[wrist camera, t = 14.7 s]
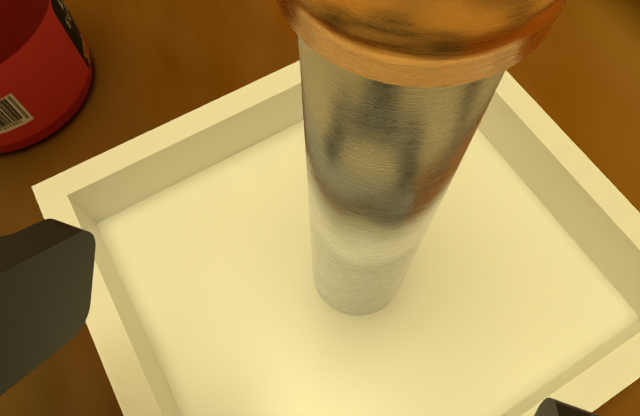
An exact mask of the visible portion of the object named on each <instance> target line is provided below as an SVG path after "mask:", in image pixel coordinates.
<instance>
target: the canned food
mask: <svg viewBox="0 0 640 416" xmlns="http://www.w3.org/2000/svg"><path fill="white" fill-rule="evenodd" d="M91 79H92V67H91V60H90V54H89V48H88V45H87V43H86V41H85V39H84V37H83V35H82V33H81V32H80V30H79V28H78V27H77V25H76V23H75V21H74V20H73V18H72V16H71V15H70V13H69V11H68V9H67V8H66V6H65V4H64V3H63V1H62V0H0V153H6V152H12V151H15V150H19V149H22V148H26V147H28V146H30V145H33V144H35V143H37V142H39V141H42V140H43V139H45V138H47V137H48V136H50V135H51V134H53V133H55V132H56V131H57V130H59V129H60V128H61V127H62V126H63V125H64V124H66V123H67V122H68V121H69V120H70V119H71V118H72V117H73V115H74V114H75V113H76V112H77V111H78V110H79V108H80V107H81V105H82V103H83V102H84V100H85V98H86V97H87V94H88V91H89V88H90V85H91Z"/></svg>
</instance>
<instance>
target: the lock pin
mask: <svg viewBox="0 0 640 416" xmlns="http://www.w3.org/2000/svg"><path fill="white" fill-rule="evenodd" d="M566 1H567V0H277V2H278V5H279V7H280V9H281V12H282V14H283V16H284V17H285V19H286V20H287V22H288V23H289V25H290V27H291V28H292V29H293V30H294V32H295V33H296V34H297V35H298V41H299V57H300V73H301V89H302V104H303V120H304V136H305V152H306V167H307V183H308V199H309V215H310V231H311V246H312V262H313V277H314V282H315V286H316V288H317V290H318V292H319V294H320V296H321V297H322V298H323V300H324V301H325V302H326V303H327V304H329V305H330V306H331V307H332V308H334V309H336V310H337V311H340V312H342V313H345V314H349V315H356V316H361V315H368V314H372V313H375V312H377V311H379V310H381V309H383V308H384V307H385V306H387V305H388V304H389V303H390V302H391V301H392V300H393V298H394V297H395V295H396V294H397V292H398V290H399V288H400V286H401V284H402V281H403V279H404V277H405V275H406V273H407V271H408V269H409V267H410V265H411V263H412V261H413V259H414V257H415V255H416V253H417V251H418V249H419V247H420V245H421V243H422V240H423V238H424V236H425V234H426V232H427V230H428V228H429V226H430V224H431V222H432V220H433V218H434V216H435V214H436V212H437V210H438V208H439V206H440V204H441V202H442V199H443V197H444V195H445V193H446V191H447V189H448V187H449V185H450V183H451V181H452V179H453V177H454V175H455V173H456V171H457V169H458V167H459V165H460V163H461V161H462V158H463V156H464V154H465V152H466V150H467V148H468V146H469V144H470V142H471V140H472V138H473V136H474V134H475V132H476V130H477V128H478V126H479V124H480V122H481V120H482V117H483V115H484V113H485V111H486V109H487V107H488V105H489V103H490V101H491V99H492V97H493V95H494V93H495V91H496V89H497V87H498V85H499V83H500V81H501V79H502V76H503V74H504V72H505V70H507V69H508V68H510V67H512V66H513V65H515V64H517V63H518V62H520V61H521V60H523V59H524V58H525V57H527V56H528V55H529V54H530V53H531V52H533V51H534V50H535V49H536V48H537V47H538V46H539V44H540V43H541V42H542V41H543V40H544V39H545V38H546V36H547V35H548V33H549V31H550V30H551V28H552V26H553V25H554V23H555V21H556V19H557V18H558V16H559V14H560V12H561V10H562V8H563V7H564V5H565V3H566Z"/></svg>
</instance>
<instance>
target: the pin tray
mask: <svg viewBox="0 0 640 416" xmlns="http://www.w3.org/2000/svg"><path fill="white" fill-rule="evenodd" d="M32 189H33V192H34V194H35V197H36V199H37V202H38V204H39V207H40V209H41V212H42V214H43V217H44V219H55V220H58V221H61V222H64V223H66V224H69V225H72V226H75V227H78V228H80V229H83V230H86V231H89V232H91V233H92V234H93V236H94V238H95V242H96V248H95V260H94V271H93V282H92V293H91V304H90V310H89V313H88V316H87V318H86V324H87V326H88V328H89V331H90V333H91V336H92V338H93V341H94V343H95V346H96V348H97V351H98V353H99V356H100V358H101V361H102V363H103V366H104V368H105V371H106V373H107V376H108V378H109V381H110V383H111V386H112V388H113V391H114V393H115V396H116V398H117V401H118V403H119V405H120V408H121V410H122V413H123V415H124V416H534V415H535V413H536V411H537V409H538V407H539V405H540V404H541V403H542V401H543V400H544V399H546V398H553V399H556V400H558V401H561V402H564V403H567V404H570V405H572V406H575V407H578V408H581V409H584V410H586V411H589V412H593V411H594V410H596V409H597V408H598V407H600V406H601V405H602V404H604V403H605V402H607V401H608V400H609V399H611V398H612V397H613V396H615V395H616V394H617V393H619V392H620V391H622V390H623V389H624V388H626V387H627V386H628V385H630V384H631V383H633V382H634V381H635V380H637V379H638V378H639V377H640V213H639V212H638V211H637V210H636V209H635V207H634V206H633V205H632V204H631V203H630V202H629V201H628V200H627V199H626V198H625V197H624V196H623V195H622V194H621V193H620V191H619V190H618V189H617V188H616V187H615V186H614V185H613V184H612V183H611V182H610V181H609V180H608V179H607V178H606V177H605V175H604V174H603V173H602V172H601V171H600V170H599V169H598V168H597V167H596V166H595V165H594V164H593V163H592V162H591V161H590V159H589V158H588V157H587V156H586V155H585V154H584V153H583V152H582V151H581V150H580V149H579V148H578V147H577V146H576V145H575V143H574V142H573V141H572V140H571V139H570V138H569V137H568V136H567V135H566V134H565V133H564V132H563V131H562V130H561V129H560V127H559V126H558V125H557V124H556V123H555V122H554V121H553V120H552V119H551V118H550V117H549V116H548V115H547V114H546V113H545V111H544V110H543V109H542V108H541V107H540V106H539V105H538V104H537V103H536V102H535V101H534V100H533V99H532V98H531V97H530V95H529V94H528V93H527V92H526V91H525V90H524V89H523V88H522V87H521V86H520V85H519V84H518V83H517V82H516V81H515V79H514V78H513V77H512V76H511V75H510V74H509V73H508V72H507V71H506V70H505V72H504V74H503V76H502V79H501V81H500V83H499V85H498V87H497V89H496V91H495V93H494V95H493V97H492V99H491V101H490V103H489V105H488V107H487V109H486V111H485V113H484V115H483V117H482V120H481V122H480V124H479V126H478V128H477V130H476V132H475V134H474V136H473V138H472V140H471V142H470V144H469V146H468V148H467V150H466V152H465V154H464V156H463V158H462V161H461V163H460V165H459V167H458V169H457V171H456V173H455V175H454V177H453V179H452V181H451V183H450V185H449V187H448V189H447V191H446V193H445V195H444V197H443V199H442V202H441V204H440V206H439V208H438V210H437V212H436V214H435V216H434V218H433V220H432V222H431V224H430V226H429V228H428V230H427V232H426V234H425V236H424V238H423V240H422V243H421V245H420V247H419V249H418V251H417V253H416V255H415V257H414V259H413V261H412V263H411V265H410V267H409V269H408V271H407V273H406V275H405V277H404V279H403V281H402V284H401V286H400V288H399V290H398V292H397V294H396V295H395V297H394V298H393V300H392V301H391V302H390V303H389V304H388V305H387V306H385V307H384V308H383V309H381V310H379V311H377V312H375V313H372V314H368V315H361V316H356V315H349V314H345V313H342V312H340V311H337V310H336V309H334V308H332V307H331V306H330V305H329V304H327V303H326V302H325V301H324V300H323V298H322V297H321V296H320V294H319V292H318V290H317V288H316V286H315V282H314V277H313V262H312V246H311V231H310V215H309V199H308V183H307V167H306V152H305V136H304V120H303V104H302V89H301V73H300V60H299V61H297V62H295V63H293V64H291V65H289V66H287V67H285V68H282V69H280V70H278V71H276V72H274V73H272V74H270V75H268V76H266V77H263V78H261V79H259V80H257V81H255V82H253V83H251V84H249V85H246V86H244V87H242V88H240V89H238V90H236V91H234V92H232V93H229V94H227V95H225V96H223V97H221V98H219V99H217V100H215V101H212V102H210V103H208V104H206V105H204V106H202V107H200V108H198V109H195V110H193V111H191V112H189V113H187V114H185V115H183V116H181V117H178V118H176V119H174V120H172V121H170V122H168V123H166V124H164V125H161V126H159V127H157V128H155V129H153V130H151V131H149V132H147V133H144V134H142V135H140V136H138V137H136V138H134V139H132V140H130V141H127V142H125V143H123V144H121V145H119V146H117V147H115V148H113V149H110V150H108V151H106V152H104V153H102V154H100V155H98V156H96V157H93V158H91V159H89V160H87V161H85V162H83V163H81V164H79V165H76V166H74V167H72V168H70V169H68V170H66V171H64V172H62V173H59V174H57V175H55V176H53V177H51V178H49V179H47V180H45V181H42V182H40V183H38V184H36V185H34V186H32Z"/></svg>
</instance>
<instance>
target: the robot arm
mask: <svg viewBox="0 0 640 416" xmlns="http://www.w3.org/2000/svg"><path fill="white" fill-rule="evenodd" d="M95 248H96V242H95V238H94V236H93V234H92V233H91V232H89V231H86V230H83V229H80V228H78V227H75V226H72V225H69V224H66V223H64V222H61V221H58V220H55V219H45V220H43V221H40V222H38V223H36V224H34V225H31V226H29V227H27V228H25V229H23V230H20V231H18V232H16V233H14V234H10V235H5V236H1V237H0V396H1V395H2V394H3V393H4V392H6V391H7V390H8V389H9V388H11V387H12V386H13V385H15V384H16V383H17V382H18V381H20V380H21V379H22V378H23V377H25V376H26V375H27V374H28V373H30V372H31V371H32V370H33V369H35V368H36V367H37V366H39V365H40V364H41V363H42V362H44V361H45V360H46V359H47V358H49V357H50V356H51V355H52V354H54V353H55V352H56V351H57V350H59V349H60V348H61V347H63V346H64V345H65V344H66V343H68V342H69V341H70V340H71V339H72V338H74V336H75V335H76V334H77V333H78V332H79V331H80V329H81V328H82V326H83V324H84V322H85V321H86V318H87V316H88V313H89V310H90V304H91V293H92V282H93V271H94V260H95ZM534 416H599V415H598V414H595V413H592V412H589V411H586V410H584V409H581V408H578V407H575V406H572V405H570V404H567V403H564V402H561V401H558V400H556V399H553V398H546V399H544V400H543V401H542V403H541V404H540V405H539V407H538V409H537V411H536V413H535V415H534Z"/></svg>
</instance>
